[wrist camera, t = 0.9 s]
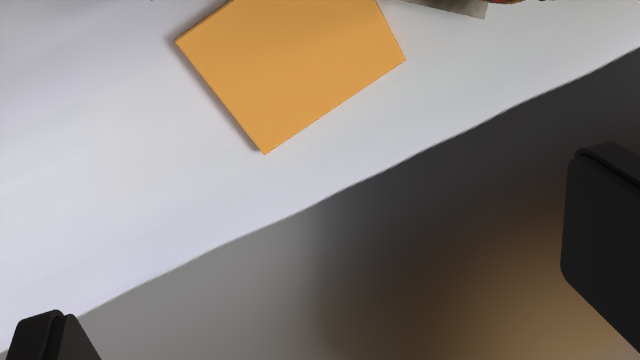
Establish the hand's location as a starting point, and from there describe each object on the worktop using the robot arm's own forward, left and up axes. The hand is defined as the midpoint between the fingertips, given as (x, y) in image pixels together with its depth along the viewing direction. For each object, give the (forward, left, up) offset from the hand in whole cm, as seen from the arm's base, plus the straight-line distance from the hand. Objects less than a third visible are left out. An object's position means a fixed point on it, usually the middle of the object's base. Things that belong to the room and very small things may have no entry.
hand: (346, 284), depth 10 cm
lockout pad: (-2, +4, -24) cm, 25 cm away
